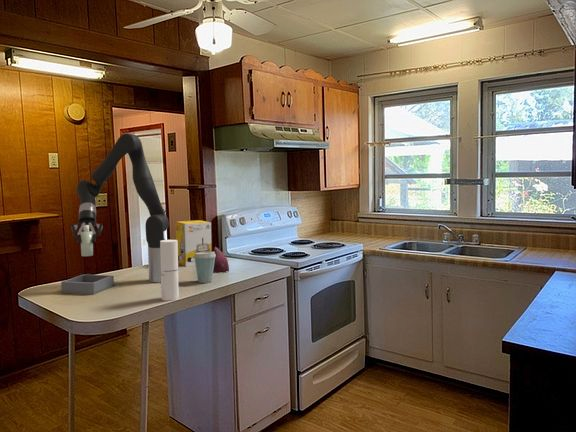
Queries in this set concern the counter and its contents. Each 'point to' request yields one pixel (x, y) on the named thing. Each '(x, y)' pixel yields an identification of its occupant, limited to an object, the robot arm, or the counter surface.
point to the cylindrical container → (169, 269)
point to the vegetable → (220, 262)
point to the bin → (87, 284)
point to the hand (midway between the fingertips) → (86, 242)
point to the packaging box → (192, 240)
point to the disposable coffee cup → (205, 266)
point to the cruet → (86, 241)
